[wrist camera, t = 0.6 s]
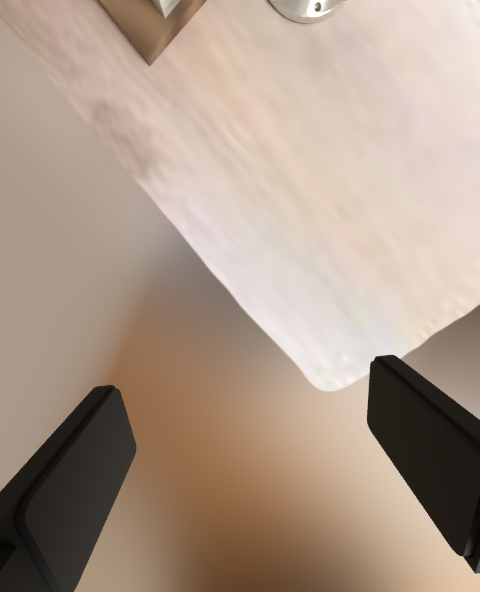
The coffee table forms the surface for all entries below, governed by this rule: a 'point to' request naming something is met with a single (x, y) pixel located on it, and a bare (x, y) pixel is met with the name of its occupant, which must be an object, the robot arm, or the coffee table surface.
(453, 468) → the robot arm
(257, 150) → the coffee table surface
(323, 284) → the coffee table surface
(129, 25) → the pipe stand
